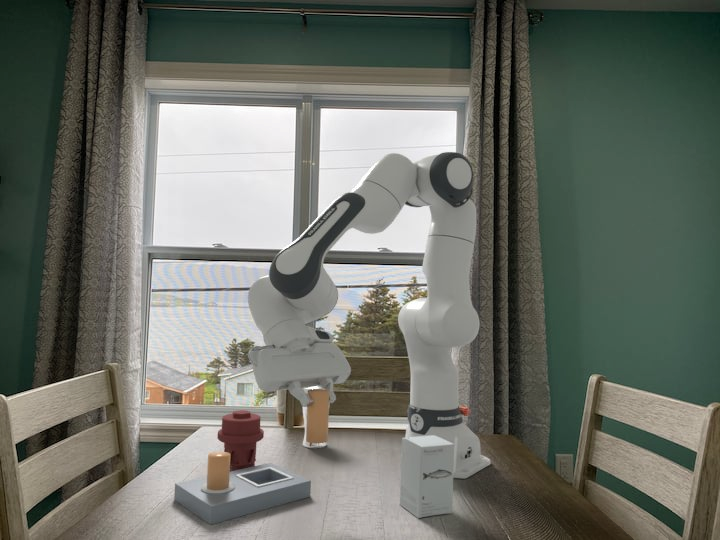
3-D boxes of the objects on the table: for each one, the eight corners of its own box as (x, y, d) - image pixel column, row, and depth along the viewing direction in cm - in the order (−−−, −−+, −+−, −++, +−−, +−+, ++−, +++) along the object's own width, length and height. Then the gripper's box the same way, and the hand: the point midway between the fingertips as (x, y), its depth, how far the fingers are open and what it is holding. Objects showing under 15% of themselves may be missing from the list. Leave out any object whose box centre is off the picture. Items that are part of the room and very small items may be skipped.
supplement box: (418, 519, 97) (420, 446, 97) (398, 504, 103) (400, 436, 104) (453, 514, 99) (455, 443, 100) (432, 499, 106) (434, 433, 107)
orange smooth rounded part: (318, 436, 103) (320, 388, 104) (332, 441, 101) (333, 391, 101) (301, 439, 101) (303, 390, 101) (315, 444, 98) (316, 393, 98)
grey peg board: (269, 477, 116) (271, 434, 116) (310, 496, 106) (312, 449, 106) (174, 499, 102) (176, 450, 102) (210, 524, 92) (212, 469, 92)
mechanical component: (268, 463, 125) (251, 477, 115) (228, 459, 127) (207, 473, 117) (271, 409, 126) (254, 418, 116) (230, 406, 128) (210, 414, 118)
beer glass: (326, 449, 138) (329, 389, 139) (299, 448, 138) (301, 388, 139) (328, 442, 145) (330, 385, 146) (302, 441, 145) (304, 384, 146)
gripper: (251, 336, 100) (280, 398, 92) (337, 333, 113) (368, 387, 106) (237, 358, 103) (264, 420, 95) (323, 352, 116) (352, 406, 109)
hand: (320, 403), depth 101 cm, fingers closed on orange smooth rounded part, 4 cm apart
